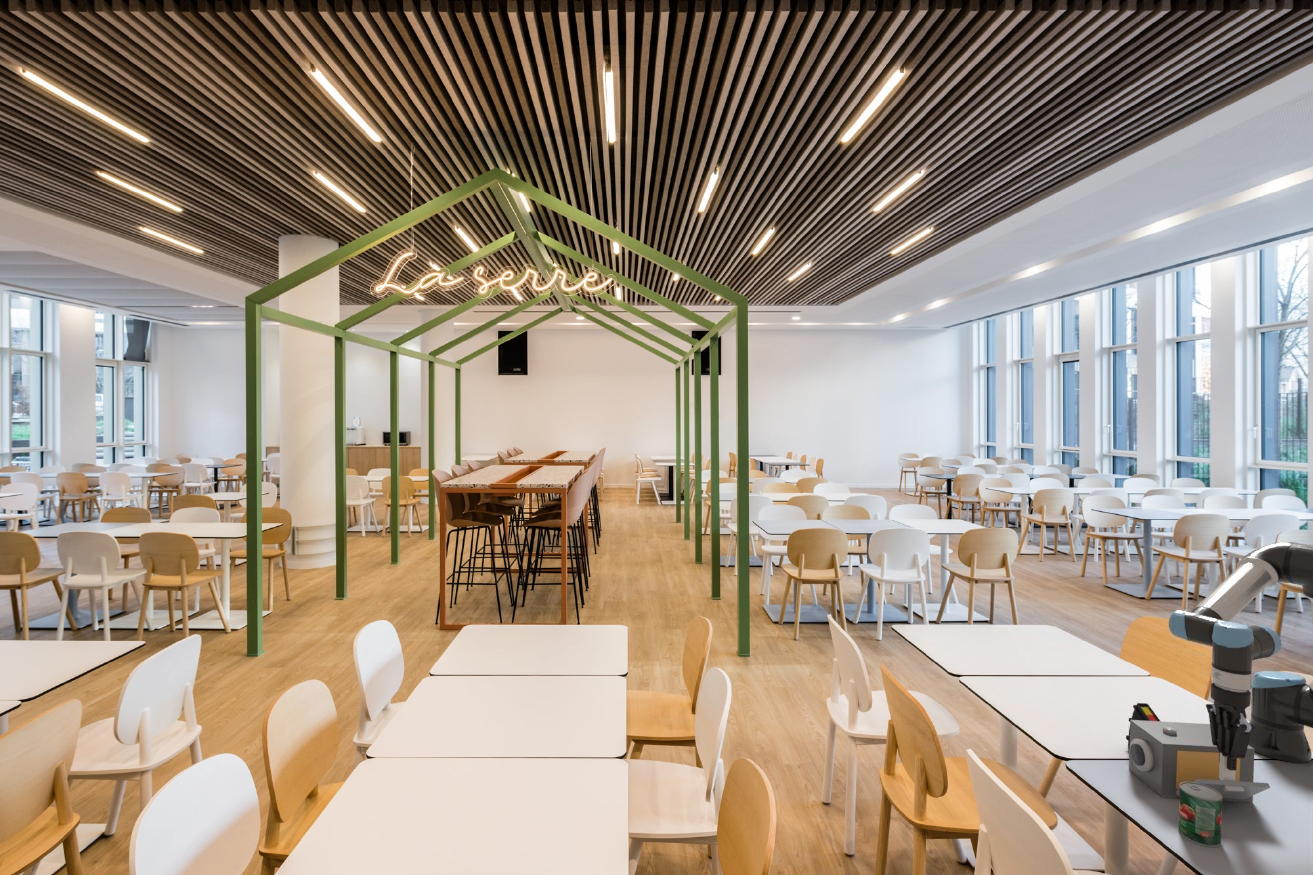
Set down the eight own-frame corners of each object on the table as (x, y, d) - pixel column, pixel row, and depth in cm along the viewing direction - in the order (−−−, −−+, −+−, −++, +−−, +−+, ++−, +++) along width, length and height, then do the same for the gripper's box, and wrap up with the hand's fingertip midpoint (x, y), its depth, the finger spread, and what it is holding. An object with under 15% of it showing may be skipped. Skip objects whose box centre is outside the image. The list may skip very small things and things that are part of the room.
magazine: (1132, 737, 203) (1147, 702, 197) (1158, 776, 192) (1176, 740, 185) (1119, 736, 204) (1134, 701, 197) (1145, 775, 192) (1162, 740, 185)
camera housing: (1213, 773, 186) (1214, 720, 185) (1253, 803, 171) (1255, 745, 171) (1120, 768, 188) (1121, 715, 188) (1152, 796, 174) (1154, 739, 174)
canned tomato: (1230, 846, 154) (1232, 799, 153) (1198, 847, 153) (1200, 800, 153) (1199, 825, 161) (1201, 780, 161) (1169, 826, 161) (1170, 781, 161)
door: (1175, 790, 173) (1197, 778, 165) (1241, 795, 171) (1268, 783, 163) (1178, 799, 172) (1201, 787, 164) (1245, 803, 170) (1272, 792, 162)
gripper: (1195, 675, 172) (1192, 765, 173) (1234, 696, 159) (1230, 793, 160) (1227, 677, 171) (1223, 767, 172) (1268, 698, 158) (1264, 795, 159)
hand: (1227, 780), depth 166 cm, fingers closed
